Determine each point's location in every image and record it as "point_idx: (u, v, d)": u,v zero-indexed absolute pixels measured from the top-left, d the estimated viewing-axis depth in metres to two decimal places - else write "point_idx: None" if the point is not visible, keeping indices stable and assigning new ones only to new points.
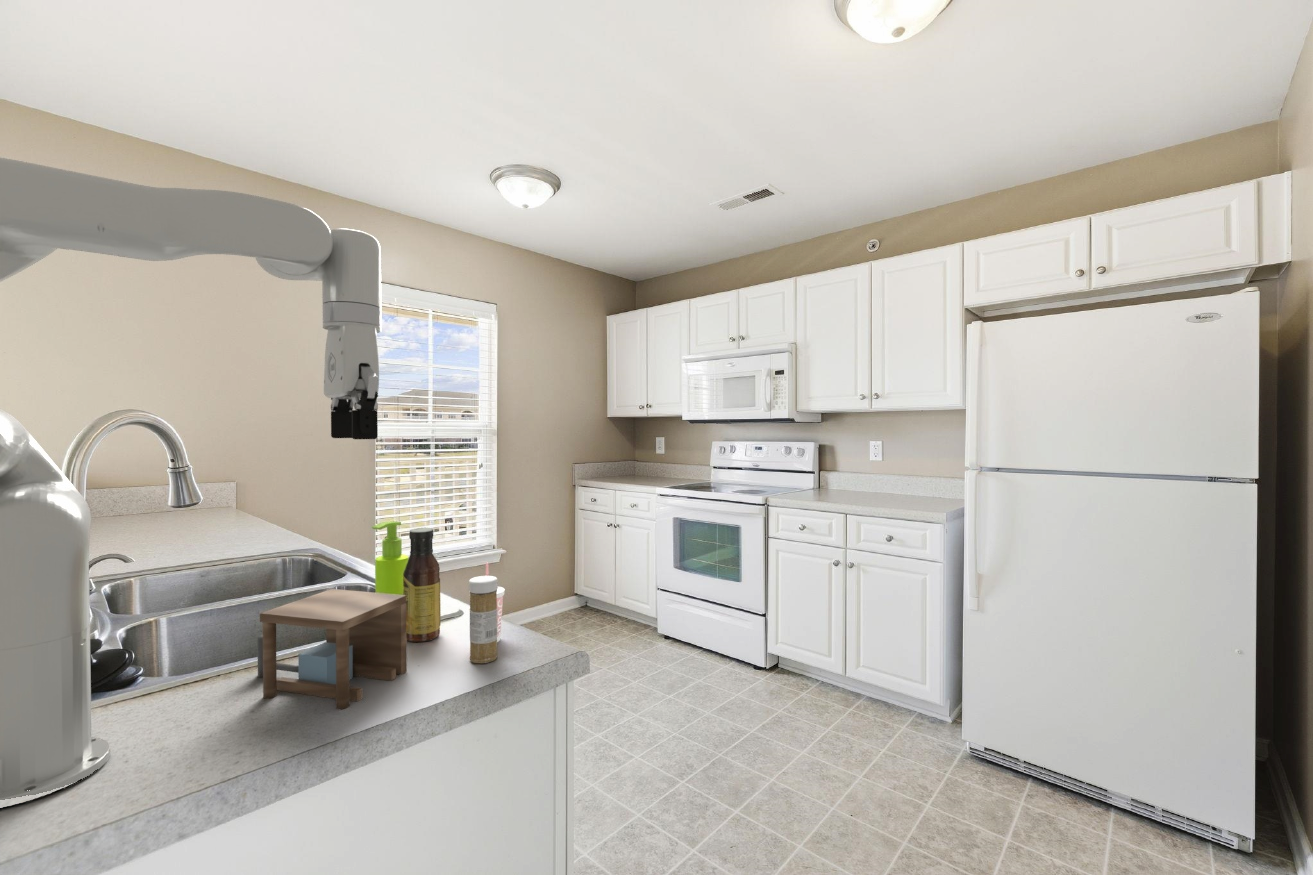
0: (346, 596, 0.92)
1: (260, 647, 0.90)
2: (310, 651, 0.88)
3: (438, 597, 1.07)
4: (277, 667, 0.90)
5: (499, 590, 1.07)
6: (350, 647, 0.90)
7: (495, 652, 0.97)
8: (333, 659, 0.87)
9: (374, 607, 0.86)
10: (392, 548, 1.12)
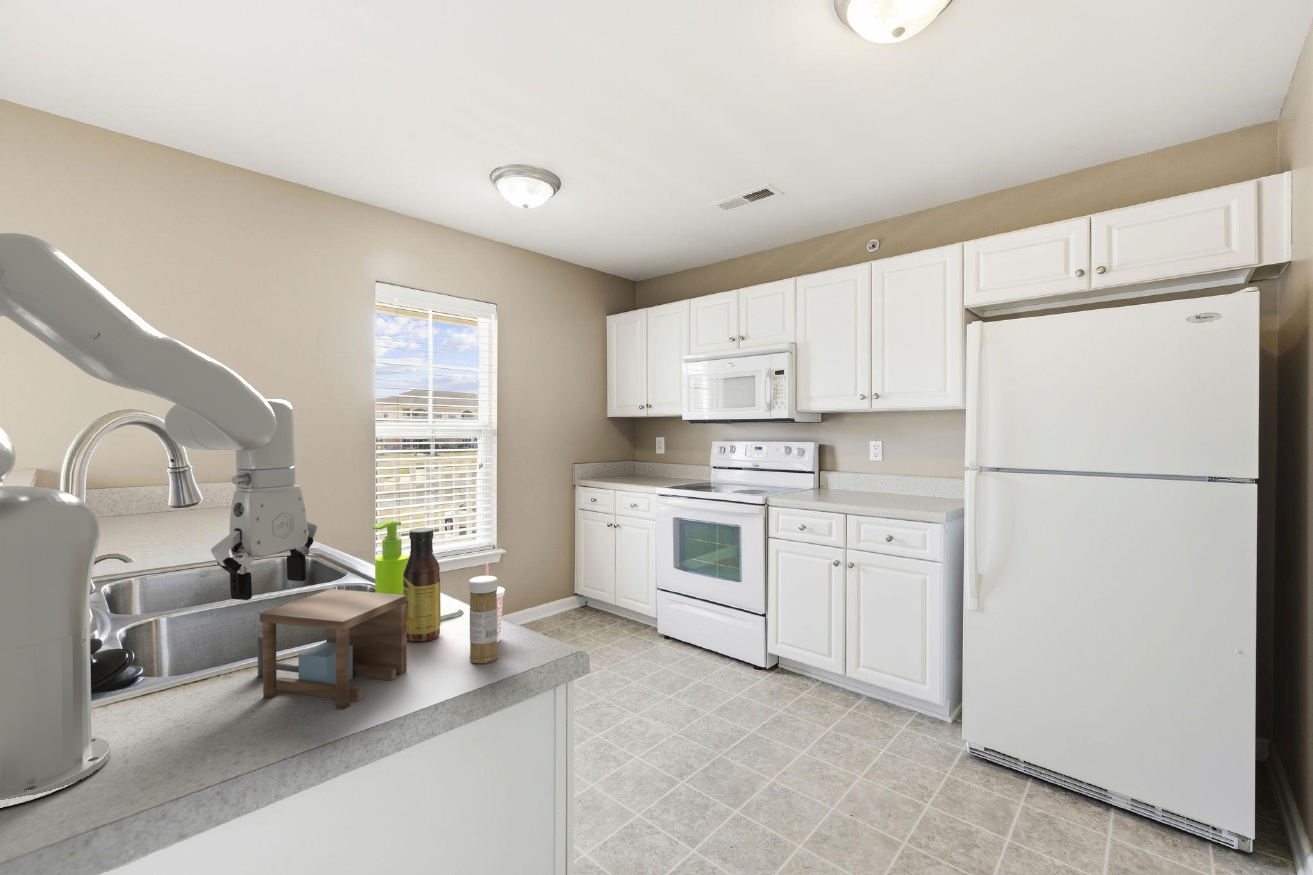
0: (346, 596, 0.92)
1: (260, 647, 0.90)
2: (310, 651, 0.88)
3: (438, 597, 1.07)
4: (277, 667, 0.90)
5: (499, 590, 1.07)
6: (350, 647, 0.90)
7: (495, 652, 0.97)
8: (333, 659, 0.87)
9: (374, 607, 0.86)
10: (392, 548, 1.12)
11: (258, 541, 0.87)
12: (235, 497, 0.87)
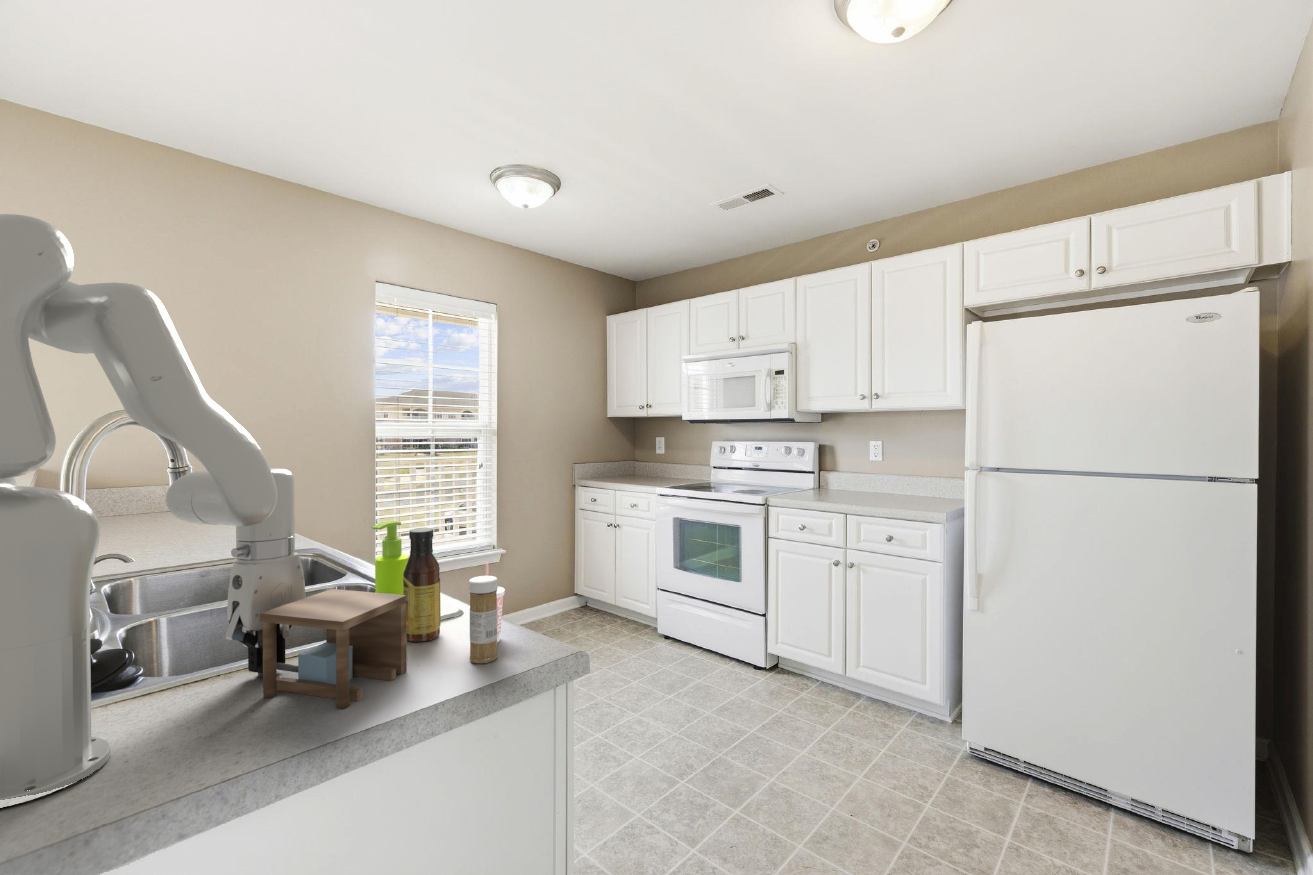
0: (346, 596, 0.92)
1: None
2: (310, 651, 0.88)
3: (438, 597, 1.07)
4: (277, 667, 0.90)
5: (499, 590, 1.07)
6: (350, 647, 0.90)
7: (495, 652, 0.97)
8: (332, 659, 0.87)
9: (374, 607, 0.86)
10: (392, 548, 1.12)
11: (256, 614, 0.87)
12: (234, 569, 0.87)
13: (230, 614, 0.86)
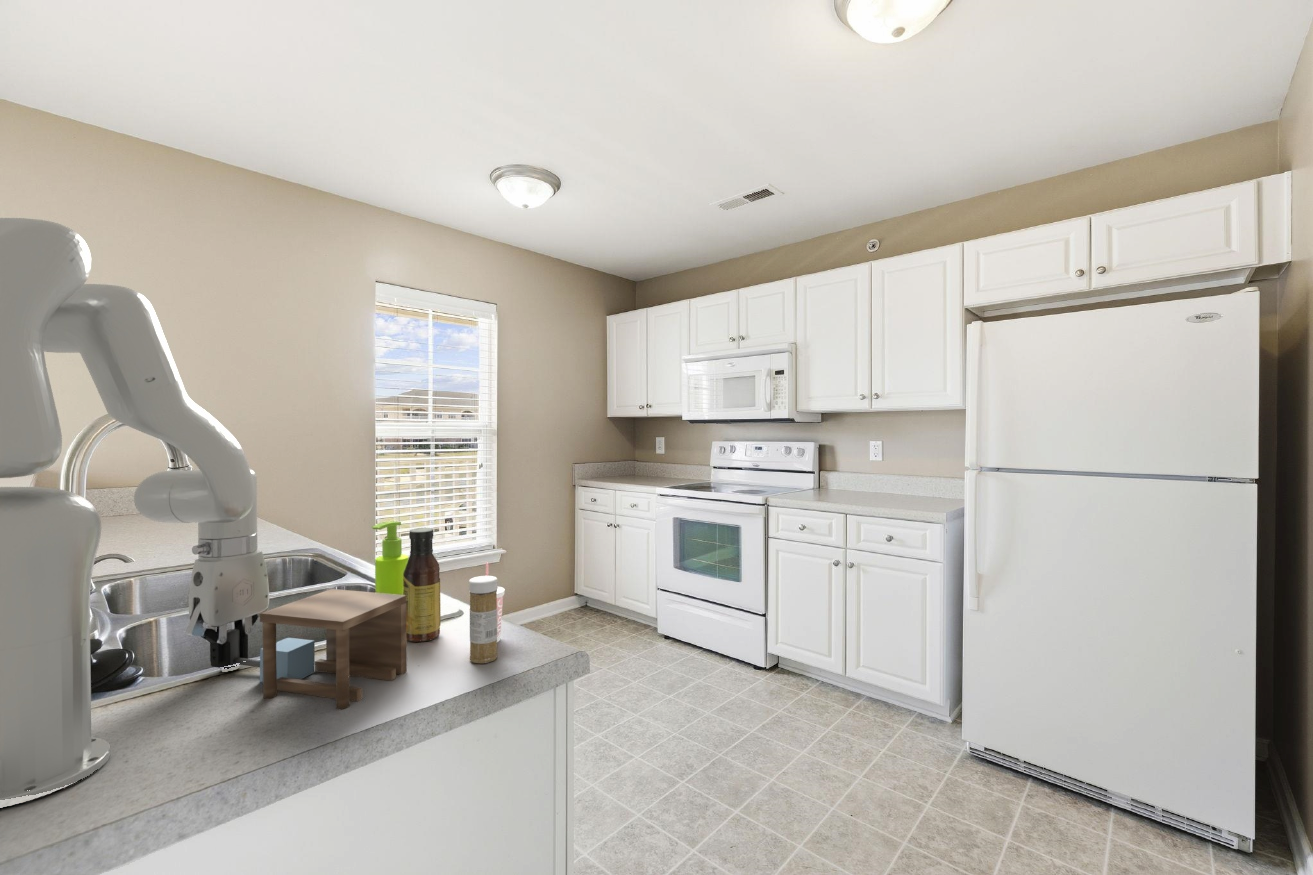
0: (346, 596, 0.92)
1: None
2: None
3: (438, 597, 1.07)
4: (240, 662, 0.92)
5: (499, 590, 1.07)
6: (312, 642, 0.92)
7: (495, 652, 0.97)
8: (294, 654, 0.89)
9: (374, 607, 0.86)
10: (392, 548, 1.12)
11: (216, 610, 0.88)
12: (195, 566, 0.89)
13: (191, 610, 0.88)
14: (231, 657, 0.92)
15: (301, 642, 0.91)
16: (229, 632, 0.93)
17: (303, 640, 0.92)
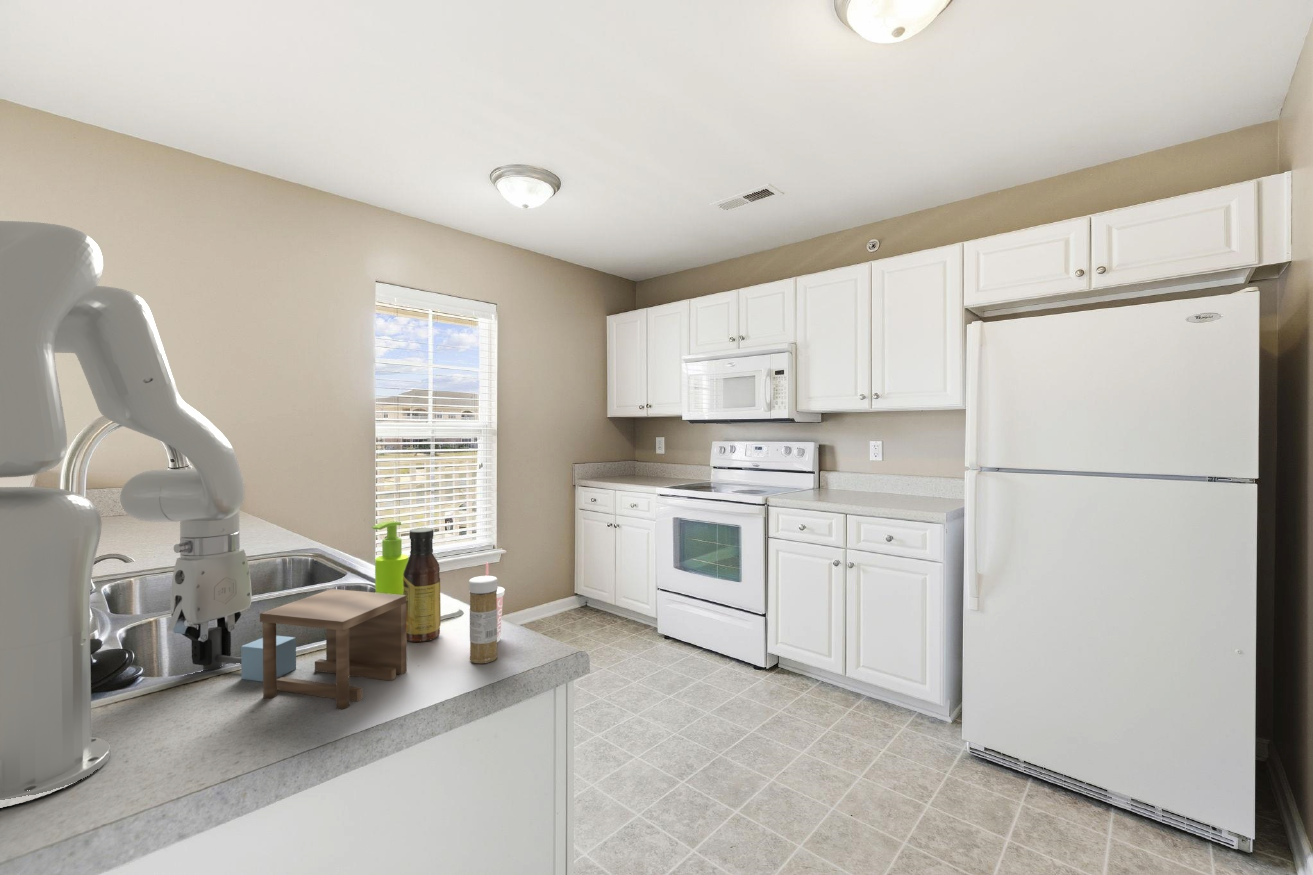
0: (346, 596, 0.92)
1: None
2: (253, 643, 0.91)
3: (438, 597, 1.07)
4: (222, 659, 0.93)
5: (499, 590, 1.07)
6: (293, 639, 0.93)
7: (495, 652, 0.97)
8: None
9: (374, 607, 0.86)
10: (392, 548, 1.12)
11: (198, 608, 0.89)
12: (177, 564, 0.90)
13: (173, 608, 0.89)
14: (213, 655, 0.93)
15: (282, 639, 0.92)
16: (211, 630, 0.94)
17: (284, 637, 0.93)
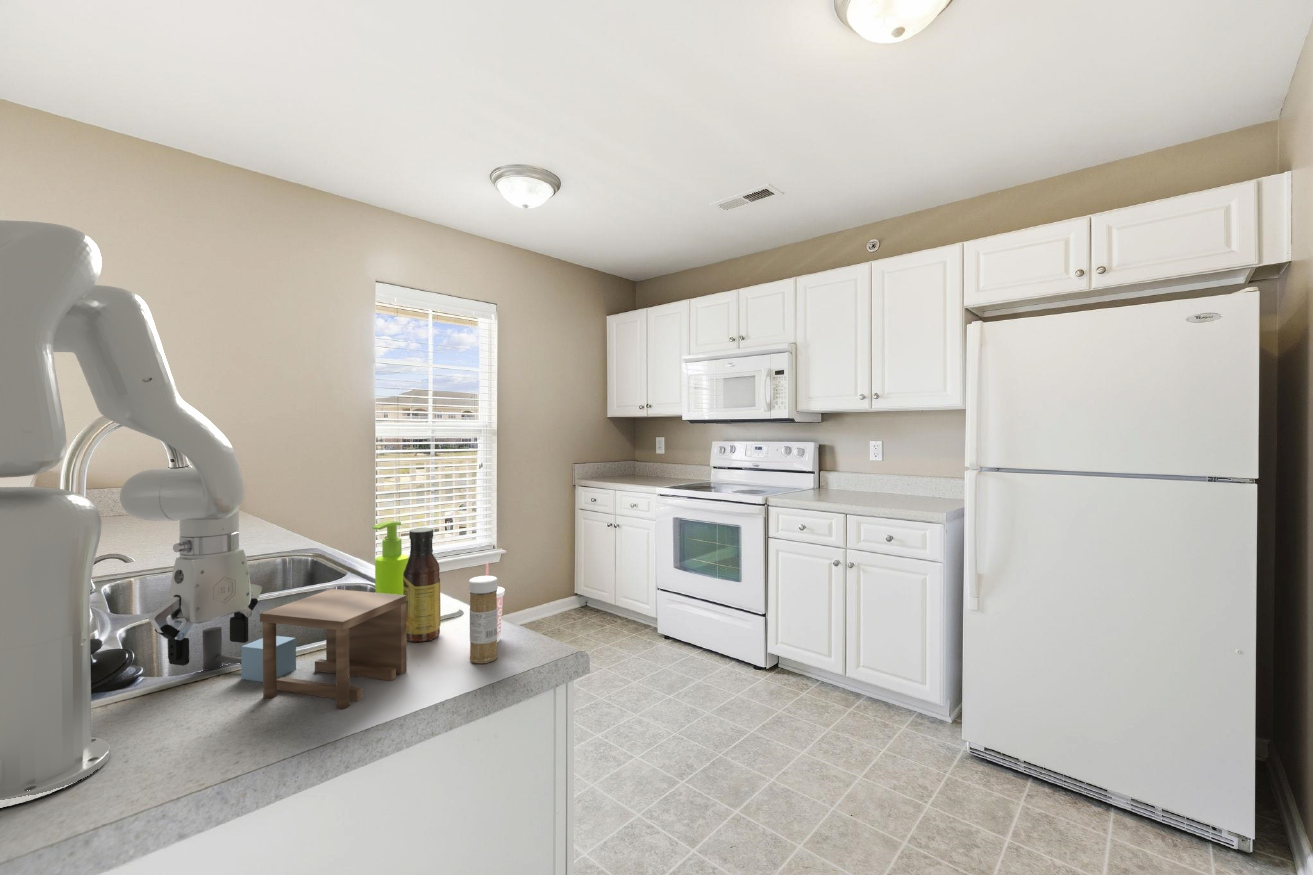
0: (346, 596, 0.92)
1: (205, 640, 0.93)
2: (253, 643, 0.91)
3: (438, 597, 1.07)
4: (222, 660, 0.93)
5: (499, 590, 1.07)
6: (293, 640, 0.93)
7: (495, 652, 0.97)
8: None
9: (374, 607, 0.86)
10: (392, 548, 1.12)
11: (197, 607, 0.89)
12: (176, 564, 0.90)
13: None
14: (213, 655, 0.93)
15: (282, 639, 0.92)
16: (211, 630, 0.94)
17: (284, 637, 0.93)
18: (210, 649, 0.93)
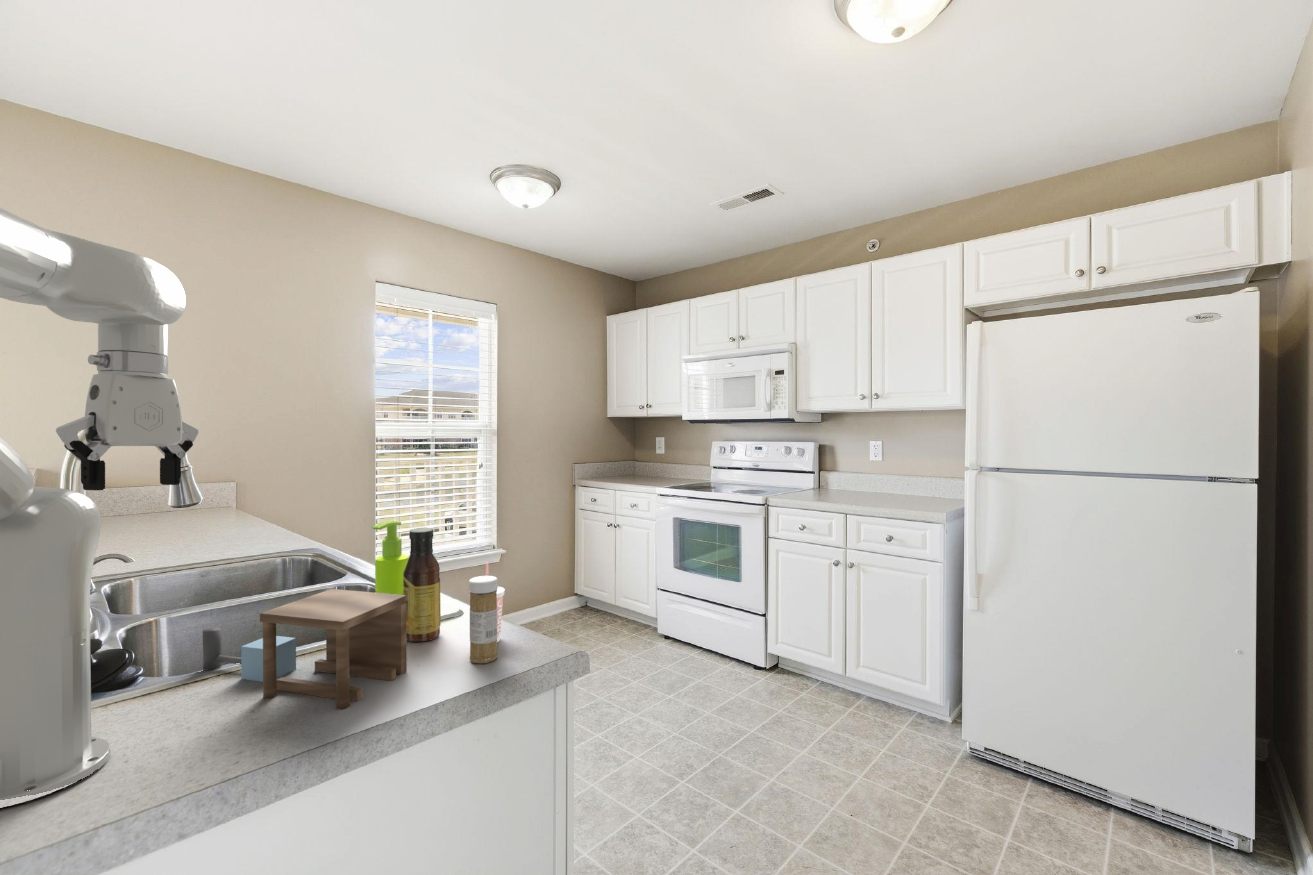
0: (346, 596, 0.92)
1: (205, 640, 0.93)
2: (253, 643, 0.91)
3: (438, 597, 1.07)
4: (222, 660, 0.93)
5: (499, 590, 1.07)
6: (293, 640, 0.93)
7: (495, 652, 0.97)
8: None
9: (374, 607, 0.86)
10: (392, 548, 1.12)
11: (114, 427, 0.80)
12: (92, 380, 0.80)
13: (86, 427, 0.80)
14: (213, 655, 0.93)
15: (282, 639, 0.92)
16: (211, 630, 0.94)
17: (284, 637, 0.93)
18: (210, 649, 0.93)
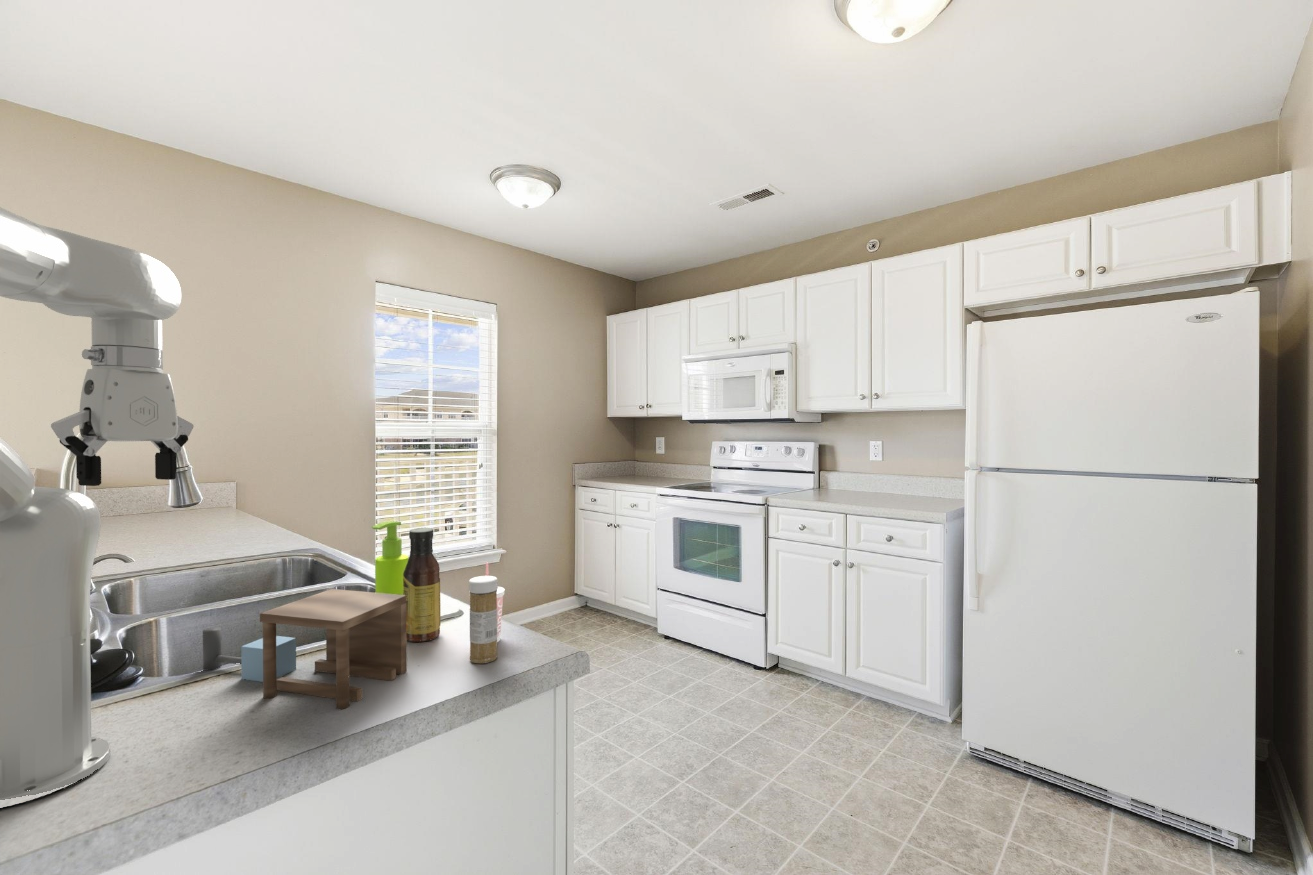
0: (346, 596, 0.92)
1: (205, 640, 0.93)
2: (253, 643, 0.91)
3: (438, 597, 1.07)
4: (222, 660, 0.93)
5: (499, 590, 1.07)
6: (293, 640, 0.93)
7: (495, 652, 0.97)
8: None
9: (374, 607, 0.86)
10: (392, 548, 1.12)
11: (110, 422, 0.80)
12: (87, 374, 0.80)
13: (81, 422, 0.79)
14: (213, 655, 0.93)
15: (282, 639, 0.92)
16: (211, 630, 0.94)
17: (285, 637, 0.93)
18: (210, 649, 0.93)
